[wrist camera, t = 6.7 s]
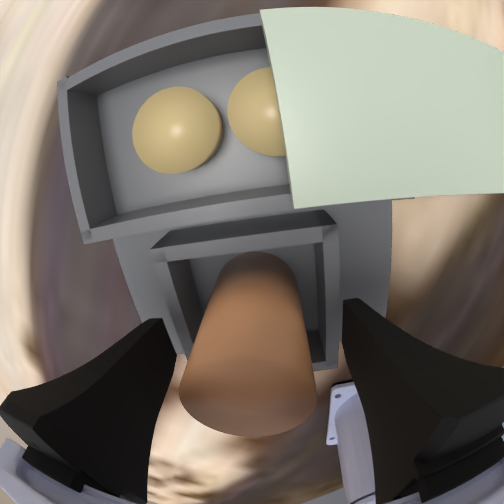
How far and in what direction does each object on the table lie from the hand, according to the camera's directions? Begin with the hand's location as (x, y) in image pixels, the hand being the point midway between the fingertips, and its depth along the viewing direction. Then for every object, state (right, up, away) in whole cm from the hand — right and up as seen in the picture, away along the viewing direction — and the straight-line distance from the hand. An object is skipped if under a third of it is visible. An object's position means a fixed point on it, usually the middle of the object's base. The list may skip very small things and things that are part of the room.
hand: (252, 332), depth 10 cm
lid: (+7, +9, -3) cm, 11 cm away
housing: (0, +5, +3) cm, 6 cm away
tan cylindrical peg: (0, +1, +3) cm, 3 cm away
